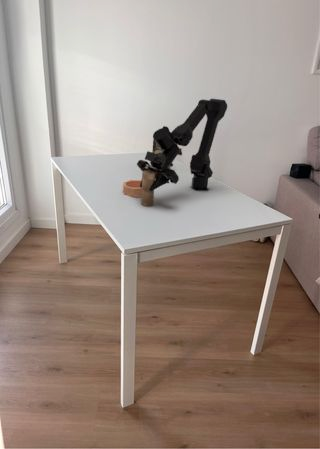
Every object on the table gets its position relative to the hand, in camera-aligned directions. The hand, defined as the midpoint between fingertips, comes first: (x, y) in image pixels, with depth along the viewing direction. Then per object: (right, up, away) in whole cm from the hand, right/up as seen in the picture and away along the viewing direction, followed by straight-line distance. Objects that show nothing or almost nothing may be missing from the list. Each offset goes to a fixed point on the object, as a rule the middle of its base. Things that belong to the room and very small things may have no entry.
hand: (145, 188), depth 123 cm
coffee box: (+6, +16, +51) cm, 54 cm away
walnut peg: (0, -6, +4) cm, 7 cm away
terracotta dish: (-4, 0, +16) cm, 16 cm away
